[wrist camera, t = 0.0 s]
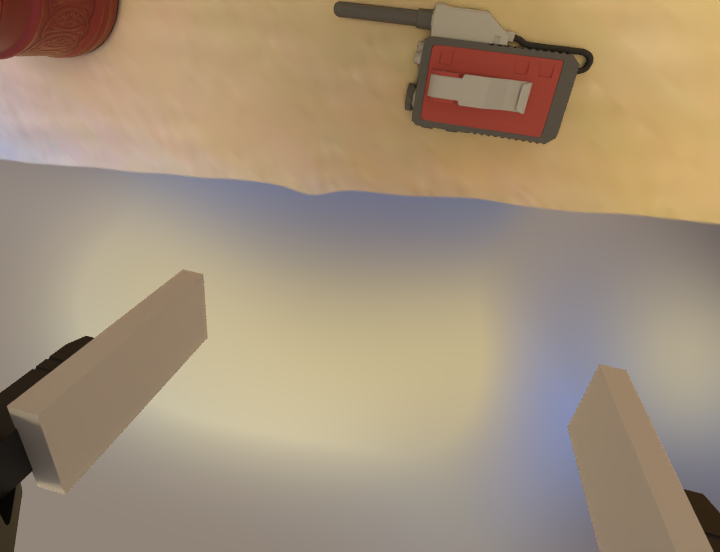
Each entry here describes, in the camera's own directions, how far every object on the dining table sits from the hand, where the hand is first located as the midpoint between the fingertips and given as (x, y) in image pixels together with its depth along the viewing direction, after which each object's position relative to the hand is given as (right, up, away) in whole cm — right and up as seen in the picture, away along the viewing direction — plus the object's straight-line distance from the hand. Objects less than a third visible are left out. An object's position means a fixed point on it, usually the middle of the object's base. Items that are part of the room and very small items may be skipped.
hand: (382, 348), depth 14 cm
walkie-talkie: (+7, +19, +21) cm, 29 cm away
